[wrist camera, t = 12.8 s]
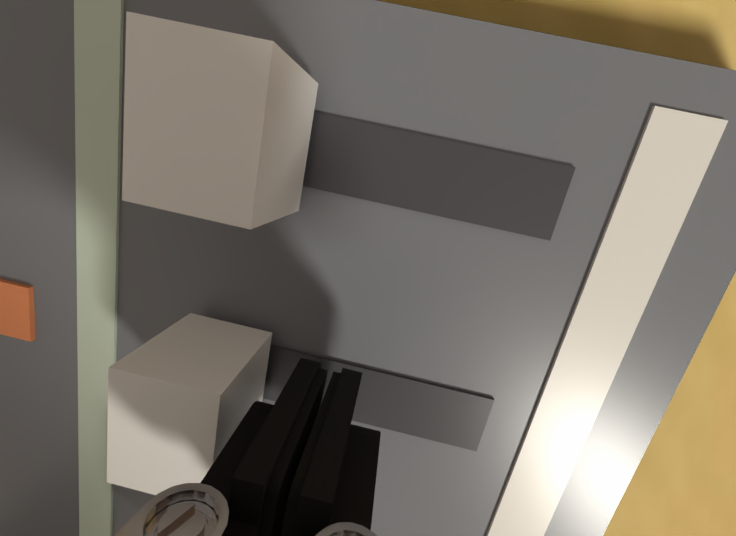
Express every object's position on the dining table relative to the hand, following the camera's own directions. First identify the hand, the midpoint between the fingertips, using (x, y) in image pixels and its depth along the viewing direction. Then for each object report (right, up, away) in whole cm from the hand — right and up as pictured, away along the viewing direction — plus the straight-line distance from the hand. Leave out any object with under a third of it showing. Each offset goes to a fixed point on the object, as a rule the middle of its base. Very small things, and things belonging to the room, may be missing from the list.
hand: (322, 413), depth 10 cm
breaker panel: (-2, +1, +3) cm, 4 cm away
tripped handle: (-3, +1, +1) cm, 3 cm away
